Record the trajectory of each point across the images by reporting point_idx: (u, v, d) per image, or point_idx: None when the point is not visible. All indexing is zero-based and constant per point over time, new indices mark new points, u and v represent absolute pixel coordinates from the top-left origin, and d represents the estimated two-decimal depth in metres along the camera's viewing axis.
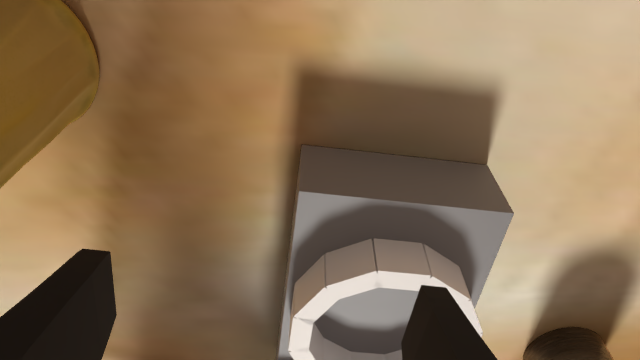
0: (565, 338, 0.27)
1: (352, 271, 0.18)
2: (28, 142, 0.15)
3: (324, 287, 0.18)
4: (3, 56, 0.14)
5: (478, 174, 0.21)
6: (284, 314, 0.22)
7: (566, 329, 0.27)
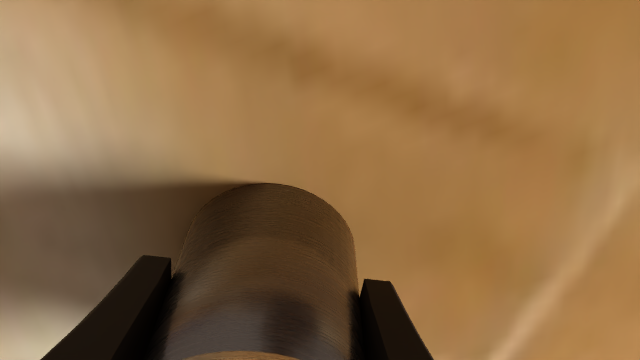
0: None
1: None
2: None
3: None
4: None
5: None
6: None
7: None
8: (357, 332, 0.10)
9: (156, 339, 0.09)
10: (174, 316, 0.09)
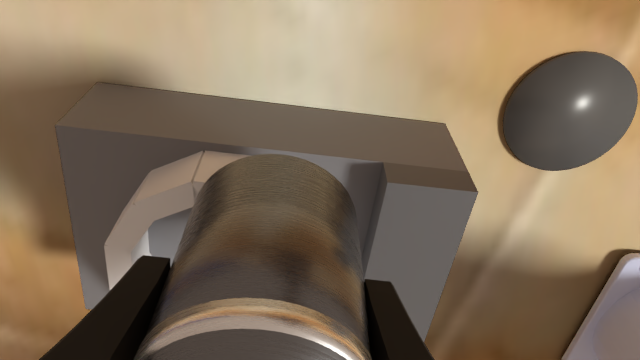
0: None
1: None
2: None
3: None
4: None
5: None
6: None
7: None
8: (364, 299, 0.10)
9: (173, 286, 0.09)
10: (193, 265, 0.09)
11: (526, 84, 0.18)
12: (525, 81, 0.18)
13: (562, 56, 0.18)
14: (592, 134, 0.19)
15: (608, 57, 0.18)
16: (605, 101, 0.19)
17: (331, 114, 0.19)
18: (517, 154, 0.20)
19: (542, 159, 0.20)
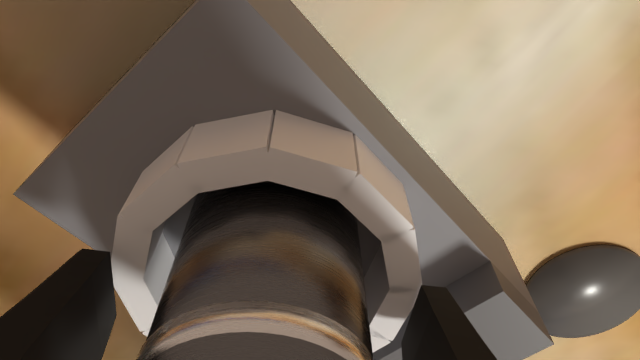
0: None
1: None
2: None
3: None
4: None
5: None
6: None
7: None
8: (365, 300, 0.10)
9: (176, 287, 0.09)
10: (195, 266, 0.09)
11: (587, 252, 0.18)
12: (589, 250, 0.18)
13: (626, 250, 0.19)
14: (585, 319, 0.20)
15: None
16: (616, 301, 0.20)
17: (436, 167, 0.16)
18: None
19: None
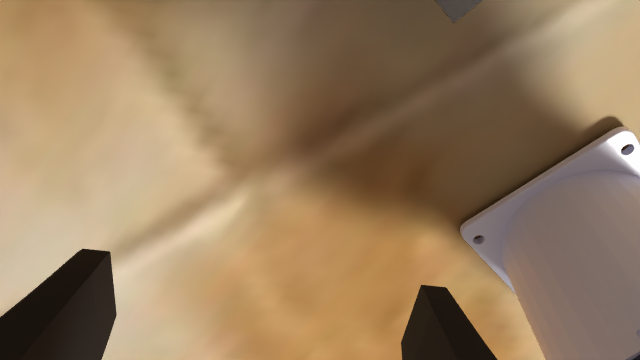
0: None
1: None
2: None
3: None
4: None
5: None
6: None
7: None
8: None
9: None
10: None
11: None
12: None
13: None
14: None
15: None
16: None
17: None
18: None
19: None
